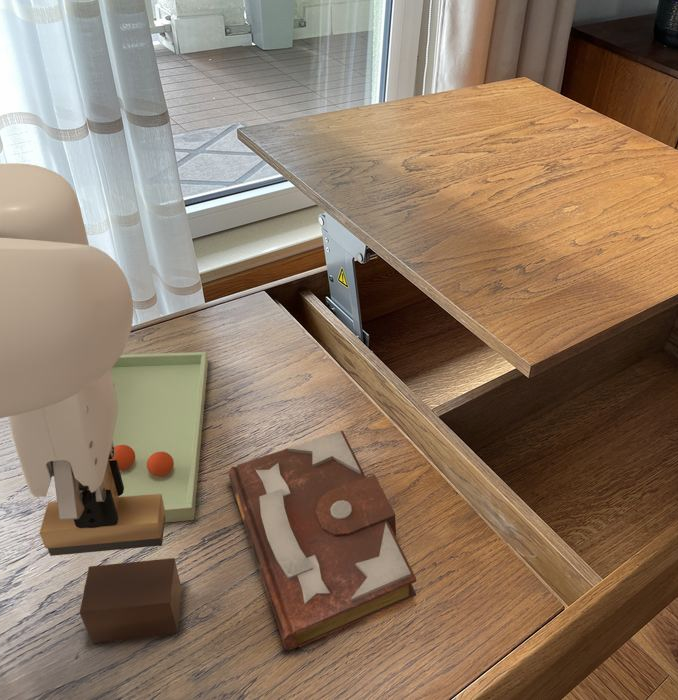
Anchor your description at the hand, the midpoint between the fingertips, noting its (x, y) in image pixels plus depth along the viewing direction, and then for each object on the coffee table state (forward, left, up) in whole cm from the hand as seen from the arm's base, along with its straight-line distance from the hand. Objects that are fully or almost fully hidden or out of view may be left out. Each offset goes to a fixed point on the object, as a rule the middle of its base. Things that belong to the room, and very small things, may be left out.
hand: (101, 507), depth 61 cm
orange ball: (+20, +4, -17) cm, 27 cm away
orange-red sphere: (+19, -1, -17) cm, 25 cm away
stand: (0, 0, -19) cm, 19 cm away
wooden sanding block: (0, 0, -4) cm, 4 cm away
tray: (+25, +2, -19) cm, 32 cm away
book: (+7, -19, -19) cm, 28 cm away
